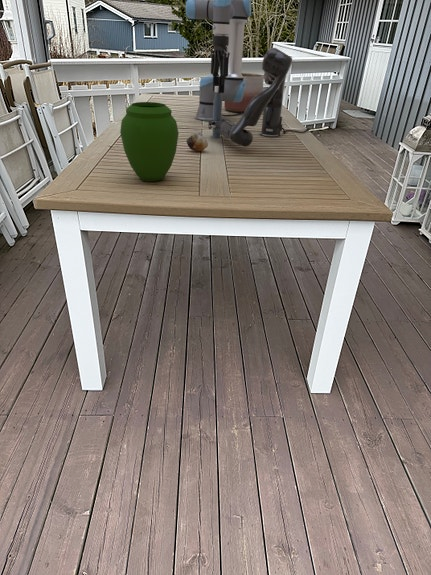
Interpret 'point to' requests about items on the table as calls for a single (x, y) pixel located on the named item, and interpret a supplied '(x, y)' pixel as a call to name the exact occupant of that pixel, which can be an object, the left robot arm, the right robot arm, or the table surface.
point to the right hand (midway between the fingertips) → (215, 122)
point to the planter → (247, 92)
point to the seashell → (197, 142)
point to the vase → (149, 139)
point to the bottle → (217, 113)
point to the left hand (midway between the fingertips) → (218, 91)
